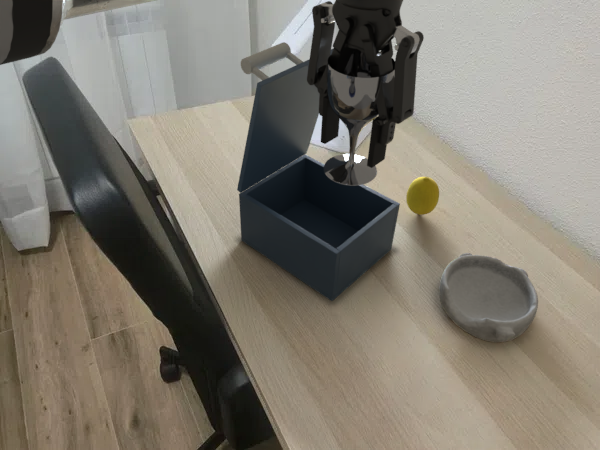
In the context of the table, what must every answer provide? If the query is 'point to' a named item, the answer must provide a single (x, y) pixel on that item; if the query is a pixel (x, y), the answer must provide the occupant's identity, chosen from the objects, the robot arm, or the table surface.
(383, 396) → the table surface
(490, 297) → the dish
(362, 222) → the chest
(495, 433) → the table surface
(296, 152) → the lid
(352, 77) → the wine glass
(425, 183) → the lemon
